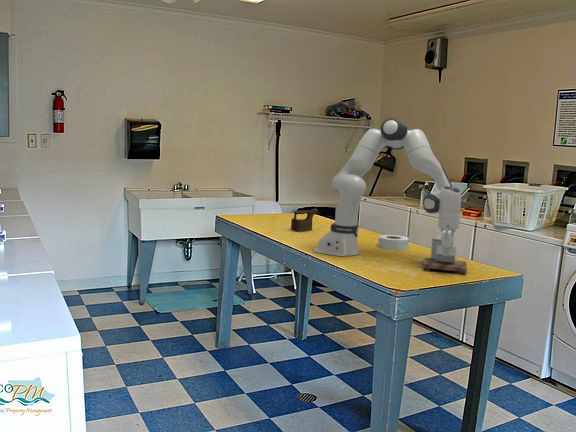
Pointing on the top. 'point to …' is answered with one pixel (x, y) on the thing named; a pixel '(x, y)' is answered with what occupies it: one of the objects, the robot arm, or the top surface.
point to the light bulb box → (435, 243)
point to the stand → (445, 265)
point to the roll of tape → (393, 242)
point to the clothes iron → (303, 221)
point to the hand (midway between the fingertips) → (446, 254)
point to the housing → (446, 258)
